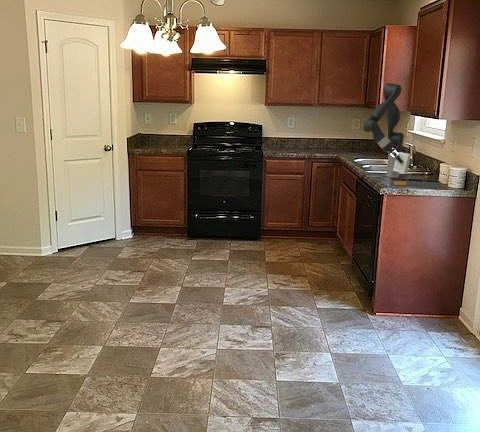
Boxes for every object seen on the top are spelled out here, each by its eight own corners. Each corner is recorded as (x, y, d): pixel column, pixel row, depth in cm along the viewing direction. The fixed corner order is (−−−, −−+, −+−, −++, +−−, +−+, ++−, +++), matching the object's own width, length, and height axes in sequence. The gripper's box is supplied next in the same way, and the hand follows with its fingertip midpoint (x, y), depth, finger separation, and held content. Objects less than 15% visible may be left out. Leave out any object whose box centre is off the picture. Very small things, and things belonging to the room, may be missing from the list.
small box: (406, 172, 354) (411, 154, 350) (403, 173, 349) (408, 155, 344) (395, 169, 358) (400, 151, 354) (392, 170, 353) (397, 152, 349)
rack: (388, 183, 362) (388, 177, 361) (437, 185, 358) (437, 179, 357) (390, 186, 350) (391, 180, 349) (441, 188, 346) (442, 183, 345)
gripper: (391, 141, 342) (407, 159, 344) (388, 139, 356) (403, 156, 358) (382, 148, 344) (398, 166, 346) (379, 146, 358) (394, 163, 359)
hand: (400, 161), depth 352 cm, fingers closed on small box, 8 cm apart
